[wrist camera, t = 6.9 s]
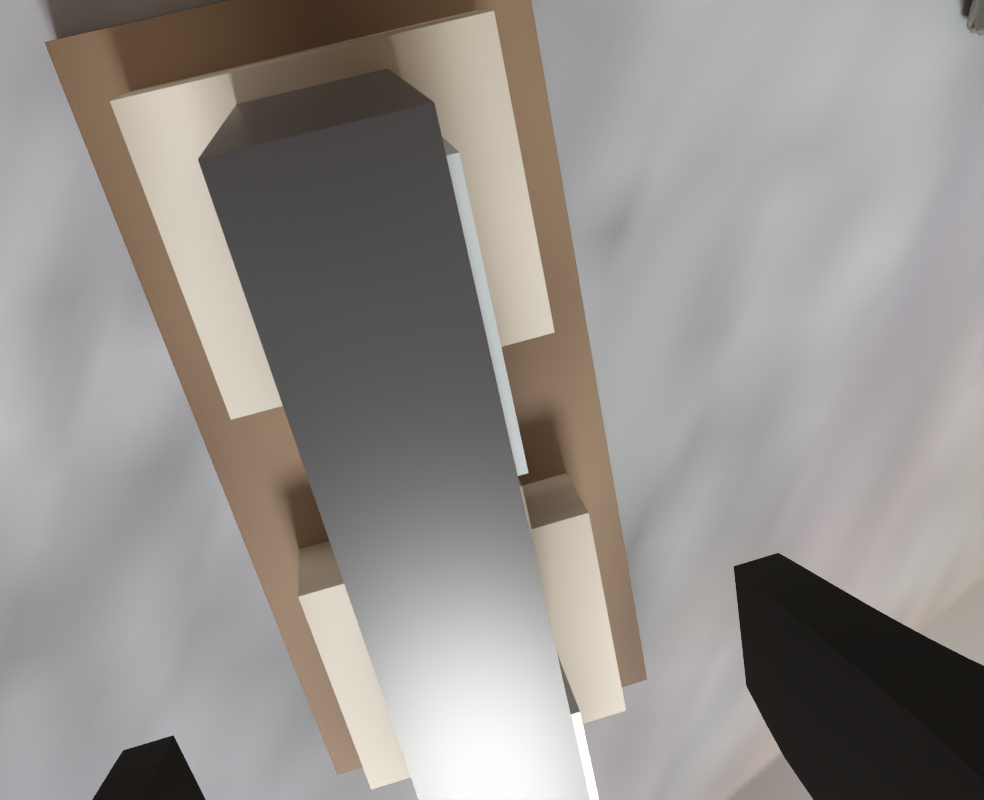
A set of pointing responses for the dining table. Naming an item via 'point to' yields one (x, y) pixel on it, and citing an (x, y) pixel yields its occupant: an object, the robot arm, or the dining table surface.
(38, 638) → the dining table surface
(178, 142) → the display stand
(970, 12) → the skincare box
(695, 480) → the dining table surface
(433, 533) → the grey upright panel
